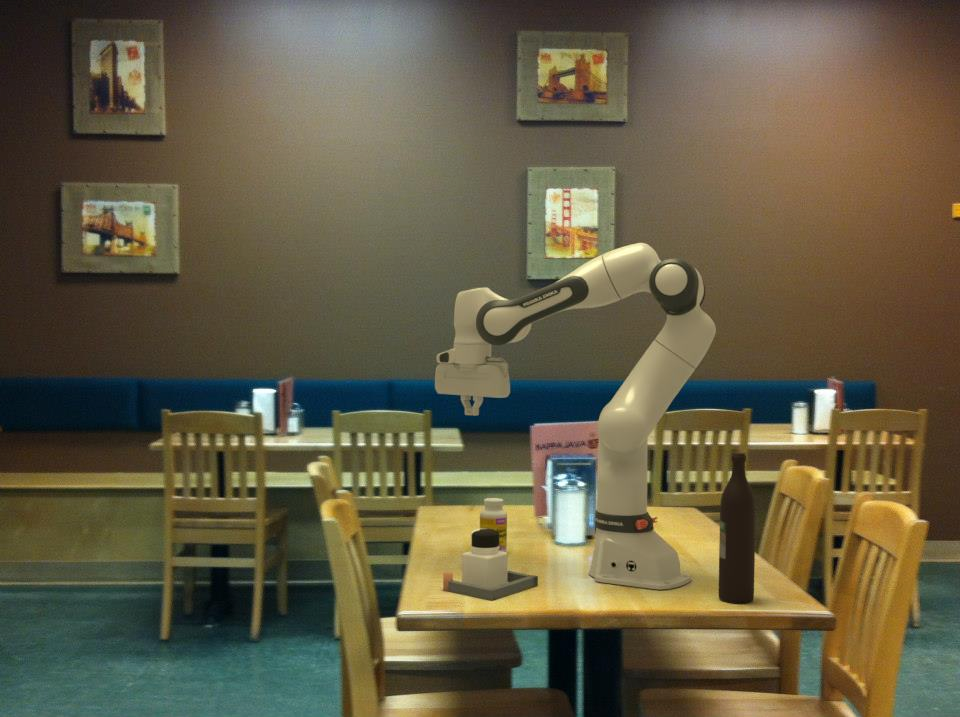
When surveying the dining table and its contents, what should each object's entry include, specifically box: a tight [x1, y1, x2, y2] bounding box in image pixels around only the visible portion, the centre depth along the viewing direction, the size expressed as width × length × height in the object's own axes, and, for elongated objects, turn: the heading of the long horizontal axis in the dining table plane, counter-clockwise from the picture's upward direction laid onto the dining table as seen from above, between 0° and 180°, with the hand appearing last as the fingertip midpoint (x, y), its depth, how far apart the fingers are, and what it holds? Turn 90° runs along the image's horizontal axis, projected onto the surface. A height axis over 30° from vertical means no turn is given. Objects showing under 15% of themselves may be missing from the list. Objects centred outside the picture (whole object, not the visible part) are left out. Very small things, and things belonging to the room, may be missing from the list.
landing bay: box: [442, 570, 539, 601], centre depth 229 cm, size 13×16×4 cm
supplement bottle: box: [479, 497, 508, 552], centre depth 263 cm, size 7×7×13 cm
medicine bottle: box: [461, 528, 509, 588], centre depth 230 cm, size 7×7×12 cm
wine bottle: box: [718, 452, 757, 604], centre depth 220 cm, size 7×7×30 cm
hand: (471, 415), depth 254 cm, fingers closed
